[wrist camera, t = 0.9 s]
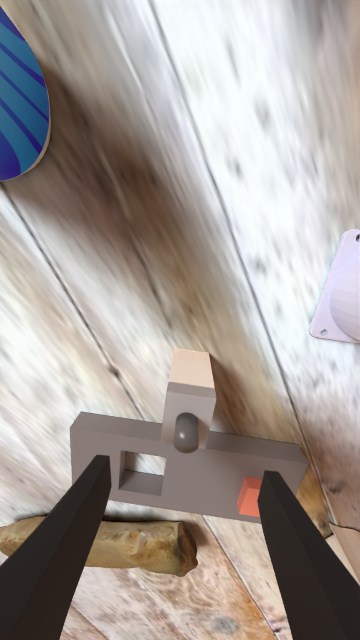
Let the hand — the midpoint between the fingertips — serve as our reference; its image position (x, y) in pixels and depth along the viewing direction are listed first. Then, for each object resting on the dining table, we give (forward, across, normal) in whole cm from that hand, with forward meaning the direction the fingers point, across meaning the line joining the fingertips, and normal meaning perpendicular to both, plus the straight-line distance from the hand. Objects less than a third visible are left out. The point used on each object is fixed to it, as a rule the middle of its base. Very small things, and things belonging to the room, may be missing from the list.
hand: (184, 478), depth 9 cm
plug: (+9, 0, 0) cm, 9 cm away
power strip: (+9, 0, +11) cm, 15 cm away
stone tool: (+10, +10, +25) cm, 28 cm away
